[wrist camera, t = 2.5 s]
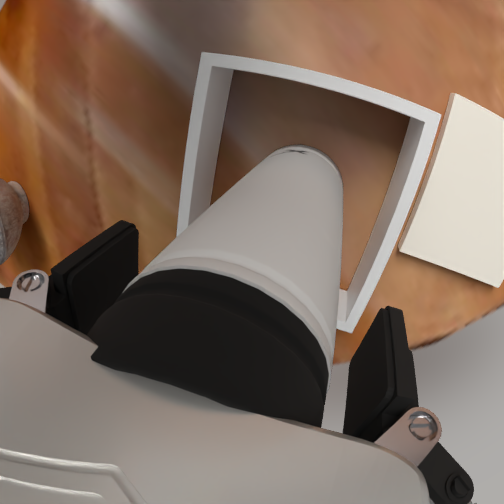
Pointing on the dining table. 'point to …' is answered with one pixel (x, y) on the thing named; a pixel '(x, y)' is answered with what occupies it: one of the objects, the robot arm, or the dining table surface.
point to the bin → (222, 66)
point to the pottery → (11, 216)
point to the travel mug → (243, 295)
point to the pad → (462, 196)
